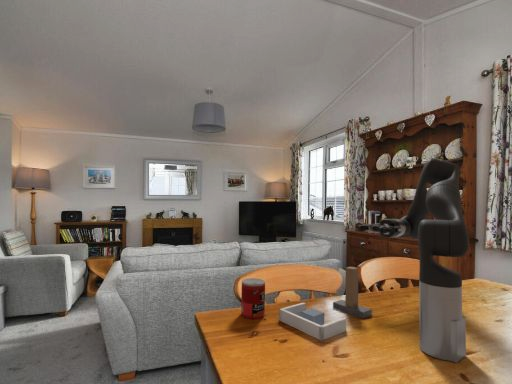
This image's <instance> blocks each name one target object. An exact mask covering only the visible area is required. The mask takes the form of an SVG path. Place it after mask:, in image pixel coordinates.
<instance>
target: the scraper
mask: <svg viewBox="0 0 512 384" xmlns="http://www.w3.org/2000/svg"><path fill="white" fill-rule="evenodd" d="M332 308H333V309H335V310H338V311H341V312H343V313H346V314H349V315H351V316H352V315H353V316H355V317H358V318H360V319H366V318H369V317H370V316H373V315H372V313H373V309H372V308H369V307H366V306H363V305H359V268H358V267H354V266H346V267H345V300H344V299H340V300H336V301H333V302H332Z"/></svg>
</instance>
